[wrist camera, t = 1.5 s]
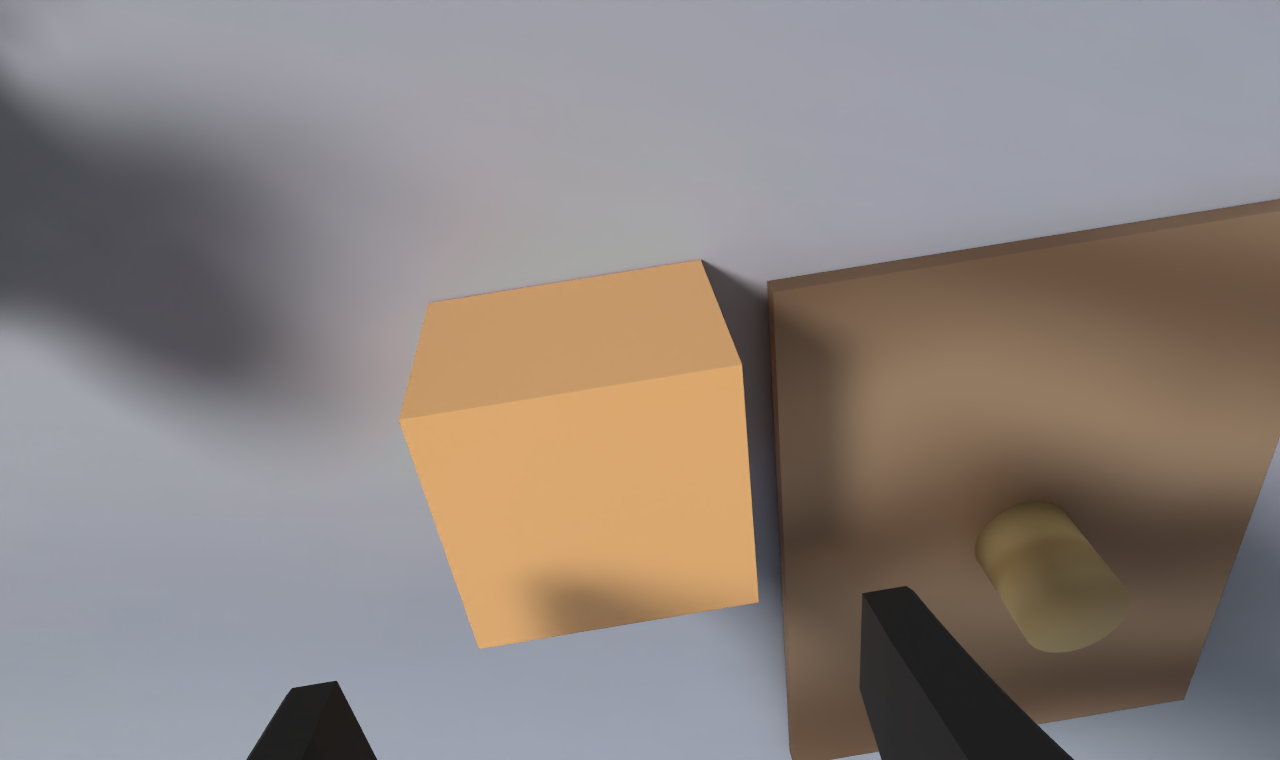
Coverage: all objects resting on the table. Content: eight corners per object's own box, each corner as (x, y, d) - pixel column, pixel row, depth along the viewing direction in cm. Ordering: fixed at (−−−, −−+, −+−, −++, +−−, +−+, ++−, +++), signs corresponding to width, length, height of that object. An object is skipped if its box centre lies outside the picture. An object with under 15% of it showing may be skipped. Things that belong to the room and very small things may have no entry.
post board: (1173, 685, 26) (1242, 776, 23) (789, 750, 25) (817, 849, 23) (1346, 188, 17) (1488, 246, 14) (767, 281, 17) (807, 356, 14)
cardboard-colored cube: (720, 471, 19) (758, 602, 16) (490, 509, 19) (479, 649, 16) (701, 259, 16) (741, 364, 13) (428, 303, 16) (398, 420, 13)
